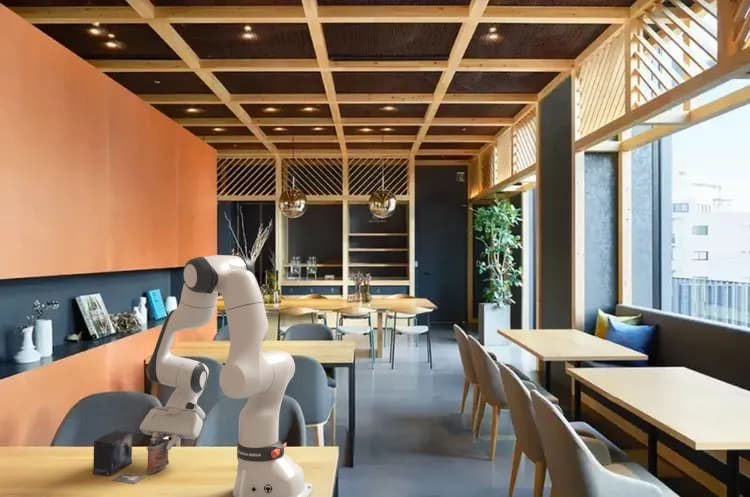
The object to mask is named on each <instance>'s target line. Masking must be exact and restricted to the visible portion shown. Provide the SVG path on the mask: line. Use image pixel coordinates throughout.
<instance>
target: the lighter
mask: <svg viewBox="0 0 750 497" xmlns="http://www.w3.org/2000/svg"><path fill="white" fill-rule="evenodd" d="M169 441H170V440H169V439H168V438H167V437H166V433H165V432H164V433H162V434H159V435H155V436H154V438H153V437H152V438H150V444H149V445H147V446H146V450H147V468H146V472H147V473H155V472H158V471H160V470H161V469H163V468H165V467H167V466H168V465H169V463H170V461H169V450H165V449H164V446H165V443H168V442H169Z"/></svg>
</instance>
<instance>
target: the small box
mask: <svg viewBox="0 0 750 497" xmlns="http://www.w3.org/2000/svg"><path fill="white" fill-rule="evenodd" d="M132 461H133V431H129V430H120V429H116V430H113V431H111V432H109V433H106V434H105V435H102V436H100V437H98V438H96V439H94V440H93V462H92V463H93V464H92V475H99V476H104V477H105V476H106V477H111V476H112V475H114V474H116V473H117V472H119V471H121V470H123V469H124V468H126V467H128V466H131V465H132V463H133V462H132Z"/></svg>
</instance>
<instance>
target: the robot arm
mask: <svg viewBox="0 0 750 497" xmlns="http://www.w3.org/2000/svg"><path fill="white" fill-rule="evenodd" d="M253 263H254V262H252V260H251V259H250V258H249V257H248V256H246V255H240V254H234V255H228V254H227V255H226V254H225V255H224V254H223V255H221V254H216V255H215V254H214V255H207V256H204V257H203V256H196V257H194V258H191V259H189V260H188V261H187V262H186V263H185V265H184V268H183V270H182V278H183V282H184V283H183V287H182V290H181V295H180V301H179V304H178V306H177V307H176V308H174V309H172V310H171V311H170V312H169V313H168V314H167V316H166V317H165V319H164V321H163V323H162V324H163V325H162V327H161V330H160V333H159V335H158V338H157V340H156V344H155V346H154V349H153V352H152V355H151V357H150V359H149V362H148V363H147V366H146V369H145V370H146V371H145V373H146V377H147V379H148V380H149V381H150V382H151V383H153V384H157V385H158V384H159V385H166V386H169V387H174V388H175V389H174V391H173V392H172V393H171V395H170V396H169V398H168V400H167V402H166V405H165V406H155V407H152V408H151V409H150V410H149V411H148V413H147V415H146V416H145V418H144V419H142V421H141V423H140V424H139V430H140V431H141V433H143V434H144V435H149V436H152V438H154V436H155V435H159V434H162V433H164V432H165V433H166V437H165V438H167V437H169V438H171V439H170V440H169V442H168V443H165V446H164V449H165V450H168V451H170V450H171V449H172V447H173V446H174V445H175V444H176V443H177V442H179V440H180V439H185V440H195V439H197V438H198V437H199V435H200V433H201V430H202V428H203V425H204V421H203V420H205V418H206V413H205V411H203V409H202V408H201V407H200V406H199V405H198V400H199V397H200V396H201V395H202V393H203V392H204V389H205V386H206V384H207V381H208V378H209V373H210V370H209V368H208V366H207V365H206V364H205V363H203V362H200V361H198V360H196V359H195V360H194V359H191V358H185V357H181V356H177V355H174V354H173V353H172V352H171V348H172V345H173V342H174V339H175V336H176V333H177V332H182V331H187V330H196V329H199V328H202V327H204V326H206V325H207V324H209V323H210V322H212V320H213V319H214V316H215V313H216V310H217V302H218V298H219V297H218V296H219V294H220V295H221V297H222V300H223V306H224V311H225V314H226V322H227V326H228V331H229V351H228V355H227V359H226V361H225V363H224V366H223V367H222V368H221V370H220V372H219V378H218V379H219V380H218V382H219V386H220V389H221V390H222V392H223V394H224V395H225V396H227V397H228V398H230V399H247V398H248V400H247V402H246V404H245V405H244V406H243V409H241V411H240V413H239V416H238V441H237V444H236V445H237V446H236V457H237V459H236V460H237V469H236V470H237V471H236V476H235V481H234V486H233V488H232V496H233V497H310V496H311V495H312V494H311V493H313V490H314V489H313V484H312V483H311V482H307V481H306V479H305V473H304V470H303V468H302V466H300V465H299V463H297V462H296V461H294V460H293V459H292V458H291V457H290V456H288V455H287V454H286V453H285V448H287V442H284V443H282V442H281V440H280V438H279V430H280V429H279V428H280V427H279V424H280V423H279V422H280V421H279V420H280V412H281V406H282V405H281V404H282V402H283V398H284V396H285V392H286V389H287V387H288V384H289V383H290V381H291V380H292V378H293V377H294V375H295V373H296V364H295V363H296V362H295V361H294V358H293V357H292V355H291V354H290V353H288V352H287V351H285V350H266V351H263V344H264V343H263V342H264V339H265V336H266V335H267V334H268V333H269V329H270V328H269V327H270V326H269V321H268V320H269V319H268V316H267V313H266V312H267V311H266V307H265V302H264V298H263V295H262V292H261V289H260V286H259V284H258V280H257V278H256V276H255V272H256V271H255V270H256V269H255V266H254V264H253Z"/></svg>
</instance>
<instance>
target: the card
mask: <svg viewBox="0 0 750 497" xmlns="http://www.w3.org/2000/svg"><path fill="white" fill-rule="evenodd" d="M145 478H147V475H144V474H143V475H142V474H137V473H130V472H129V473H128V472H123V473H122V474H119V475H118V476H116V477H114V478H113V479H111V480H112V481H116V482H122V483H128V484H138V483H139V482H140V481H142V480H144V479H145Z"/></svg>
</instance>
